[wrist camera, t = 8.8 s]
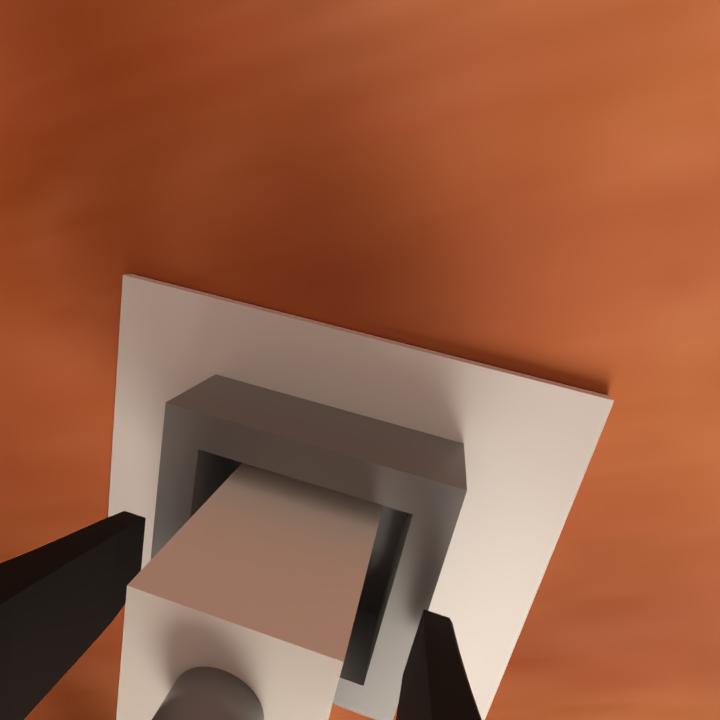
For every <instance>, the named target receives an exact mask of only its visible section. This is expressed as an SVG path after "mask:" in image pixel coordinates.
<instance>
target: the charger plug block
mask: <svg viewBox="0 0 720 720" xmlns="http://www.w3.org/2000/svg"><path fill="white" fill-rule="evenodd" d="M382 509H383V505H380V504H377V503H374V502H370V501H367V500H364V499H360V498H357V497H354V496H350V495H347V494H344V493H341V492H337V491H334V490H331V489H327V488H324V487H321V486H317V485H314V484H311V483H308V482H304V481H301V480H298V479H294V478H291V477H288V476H284V475H281V474H278V473H275V472H271V471H268V470H265V469H261V468H258V467H255V466H251V465H248V464H245V463H242V464H241V465H240V466H239V467H238V468H237V469H236V470H235V471H234V472H233V473H232V474H231V476H230V477H229V478H228V479H227V480H226V481H225V482H224V483H223V484H222V485H221V486H220V487H219V488H218V489H217V490H216V491H215V493H214V494H213V495H212V496H211V497H210V498H209V499H208V500H207V501H206V502H205V503H204V504H203V505H202V506H201V507H200V508H199V510H198V511H197V512H196V513H195V514H194V515H193V516H192V517H191V518H190V519H189V520H188V521H187V522H186V523H185V524H184V525H183V527H182V528H181V529H180V530H179V531H178V532H177V533H176V534H175V535H174V536H173V537H172V538H171V539H170V540H169V541H168V542H167V544H166V545H165V546H164V547H163V548H162V549H161V550H160V551H159V552H158V553H157V554H156V555H155V556H154V557H153V558H152V559H151V560H150V562H149V563H148V564H147V565H146V566H145V567H144V568H143V569H142V570H141V571H140V572H139V573H138V574H137V575H136V576H135V577H134V579H133V580H132V581H131V582H130V583H129V584H128V585H127V591H126V603H125V616H124V628H123V641H122V653H121V665H120V678H119V690H118V703H117V715H116V720H328V719H329V715H330V711H331V708H332V704H333V700H334V696H335V693H336V689H337V685H338V681H339V678H340V674H341V670H342V667H343V663H344V659H345V655H346V651H347V647H348V643H349V639H350V635H351V631H352V627H353V623H354V619H355V615H356V612H357V608H358V604H359V600H360V596H361V592H362V588H363V584H364V580H365V576H366V572H367V568H368V564H369V560H370V556H371V552H372V548H373V544H374V540H375V537H376V533H377V529H378V525H379V521H380V517H381V513H382Z"/></svg>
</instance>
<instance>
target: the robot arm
mask: <svg viewBox="0 0 720 720" xmlns="http://www.w3.org/2000/svg"><path fill="white" fill-rule="evenodd" d="M145 521H146V518H145V517H142V516H139V515H136V514H133V513H130V512H127V511H123V512H120V513H118V514H115V515H113V516H110V517H108V518H106V519H104V520H101V521H99V522H97V523H94V524H92V525H90V526H88V527H85V528H83V529H81V530H79V531H76V532H74V533H72V534H70V535H67V536H65V537H63V538H61V539H58V540H56V541H54V542H51V543H49V544H47V545H44V546H42V547H40V548H38V549H35V550H33V551H31V552H28V553H26V554H23V555H21V556H18V557H16V558H13V559H11V560H8V561H5V562H3V563H0V720H24V719H25V718H26V717H27V715H28V714H29V713H30V712H31V711H32V710H33V708H34V707H35V706H36V705H37V704H38V703H39V702H40V701H41V700H42V699H43V697H44V696H45V695H46V694H47V693H48V692H49V691H50V690H51V689H52V688H53V686H54V685H55V684H56V683H57V682H58V681H59V680H60V679H61V678H62V677H63V675H64V674H65V673H66V672H67V671H68V670H69V669H70V668H71V667H72V666H73V664H74V663H75V662H76V661H77V660H78V659H79V658H80V657H81V656H82V655H83V653H84V652H85V651H86V650H87V649H88V648H89V647H90V646H91V644H92V643H93V642H94V641H95V640H96V639H97V638H98V637H99V636H100V634H101V633H102V632H103V631H104V630H105V629H106V628H107V626H108V625H109V624H110V623H111V622H112V621H113V619H114V618H115V617H116V615H117V614H118V613H119V611H120V610H121V609H122V607H123V606H124V605H125V603H126V591H127V585H128V584H129V583H130V582H131V581H132V580H133V579H134V577H135V576H136V575H137V574H138V573H139V572H140V571H141V566H142V554H143V543H144V532H145ZM396 720H482V719H481V716H480V713H479V710H478V707H477V705H476V702H475V699H474V696H473V693H472V690H471V687H470V684H469V681H468V678H467V674H466V671H465V668H464V664H463V661H462V658H461V654H460V651H459V647H458V643H457V639H456V635H455V631H454V627H453V623H452V621H451V620H450V618H449V617H446V616H443V615H440V614H437V613H434V612H431V611H428V610H423V613H422V616H421V619H420V622H419V625H418V629H417V632H416V635H415V638H414V641H413V644H412V647H411V650H410V654H409V657H408V660H407V663H406V666H405V669H404V672H403V677H402V683H401V690H400V697H399V703H398V710H397V717H396Z"/></svg>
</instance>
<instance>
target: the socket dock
mask: <svg viewBox="0 0 720 720" xmlns="http://www.w3.org/2000/svg"><path fill="white" fill-rule="evenodd" d="M613 403H614V400H613V399H612V398H611V397H610V396H608V395H605V394H601V393H597V392H593V391H589V390H585V389H581V388H577V387H573V386H569V385H565V384H561V383H558V382H554V381H550V380H546V379H542V378H538V377H534V376H530V375H526V374H522V373H518V372H514V371H511V370H507V369H503V368H499V367H495V366H491V365H487V364H483V363H479V362H475V361H471V360H467V359H464V358H460V357H456V356H452V355H448V354H444V353H440V352H436V351H432V350H428V349H424V348H420V347H417V346H413V345H409V344H405V343H401V342H397V341H393V340H389V339H385V338H381V337H377V336H373V335H369V334H366V333H362V332H358V331H354V330H350V329H346V328H342V327H338V326H334V325H330V324H326V323H322V322H319V321H315V320H311V319H307V318H303V317H299V316H295V315H291V314H287V313H283V312H279V311H275V310H272V309H268V308H264V307H260V306H256V305H252V304H248V303H244V302H240V301H236V300H232V299H228V298H225V297H221V296H217V295H213V294H209V293H205V292H201V291H197V290H193V289H189V288H185V287H181V286H178V285H174V284H170V283H166V282H162V281H158V280H154V279H150V278H146V277H142V276H138V275H134V274H125V275H123V280H122V296H121V313H120V329H119V346H118V362H117V378H116V395H115V411H114V428H113V444H112V461H111V477H110V494H109V510H108V517H110V516H113V515H115V514H118V513H120V512H123V511H127V512H130V513H133V514H136V515H139V516H142V517H145V518H146V521H145V532H144V543H143V554H142V566H141V570H142V569H143V568H144V567H145V566H146V565H147V564H148V563H149V562H150V560H151V559H152V558H153V557H154V556H155V555H156V554H157V553H158V552H159V551H160V550H161V549H162V548H163V547H164V546H165V545H166V544H167V542H168V541H169V540H170V539H171V538H172V537H173V536H174V535H175V534H176V533H177V532H178V531H179V530H180V529H181V528H182V527H183V525H184V524H185V523H186V522H187V521H188V520H189V519H190V518H191V517H192V516H193V515H194V514H195V513H196V512H197V511H198V510H199V508H200V507H201V506H202V505H203V504H204V503H205V502H206V501H207V500H208V499H209V498H210V497H211V496H212V495H213V494H214V493H215V491H216V490H217V489H218V488H219V487H220V486H221V485H222V484H223V483H224V482H225V481H226V480H227V479H228V478H229V477H230V476H231V474H232V473H233V472H234V471H235V470H236V469H237V468H238V467H239V466H240V465H241V464H242V463H245V464H248V465H251V466H255V467H258V468H261V469H265V470H268V471H271V472H275V473H278V474H281V475H284V476H288V477H291V478H294V479H298V480H301V481H304V482H308V483H311V484H314V485H317V486H321V487H324V488H327V489H331V490H334V491H337V492H341V493H344V494H347V495H350V496H354V497H357V498H360V499H364V500H367V501H370V502H374V503H377V504H380V505H383V509H382V513H381V517H380V521H379V525H378V529H377V533H376V537H375V540H374V544H373V548H372V552H371V556H370V560H369V564H368V568H367V572H366V576H365V580H364V584H363V588H362V592H361V596H360V600H359V604H358V608H357V612H356V615H355V619H354V623H353V627H352V631H351V635H350V639H349V643H348V647H347V651H346V655H345V659H344V663H343V667H342V670H341V674H340V678H339V681H338V685H337V689H336V693H335V696H334V700H333V704H334V705H336V706H339V707H342V708H345V709H347V710H350V711H353V712H356V713H358V714H361V715H364V716H367V717H369V718H372V719H375V720H393V718H394V715H395V712H396V708H397V705H398V702H399V697H400V690H401V683H402V677H403V672H404V669H405V666H406V663H407V660H408V657H409V654H410V650H411V647H412V644H413V641H414V638H415V635H416V632H417V629H418V625H419V622H420V619H421V616H422V613H423V610H428V611H431V612H434V613H437V614H440V615H443V616H446V617H449V618H450V620H451V621H452V623H453V627H454V631H455V635H456V639H457V643H458V647H459V651H460V654H461V658H462V661H463V664H464V668H465V671H466V674H467V678H468V681H469V684H470V687H471V690H472V693H473V696H474V699H475V702H476V705H477V707H478V710H479V713H480V716H481V719H482V720H485V718H486V716H487V713H488V711H489V708H490V706H491V703H492V701H493V699H494V696H495V694H496V691H497V689H498V686H499V684H500V681H501V679H502V676H503V674H504V671H505V669H506V666H507V664H508V662H509V659H510V657H511V654H512V652H513V649H514V647H515V644H516V642H517V639H518V637H519V634H520V632H521V629H522V627H523V625H524V622H525V620H526V617H527V615H528V612H529V610H530V607H531V605H532V602H533V600H534V597H535V595H536V592H537V590H538V588H539V585H540V583H541V580H542V578H543V575H544V573H545V570H546V568H547V565H548V563H549V560H550V558H551V556H552V553H553V551H554V548H555V546H556V543H557V541H558V538H559V536H560V533H561V531H562V528H563V526H564V523H565V521H566V519H567V516H568V514H569V511H570V509H571V506H572V504H573V501H574V499H575V496H576V494H577V491H578V489H579V486H580V484H581V482H582V479H583V477H584V474H585V472H586V469H587V467H588V464H589V462H590V459H591V457H592V454H593V452H594V449H595V447H596V445H597V442H598V440H599V437H600V435H601V432H602V430H603V427H604V425H605V422H606V420H607V417H608V415H609V412H610V410H611V408H612V405H613Z"/></svg>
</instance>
